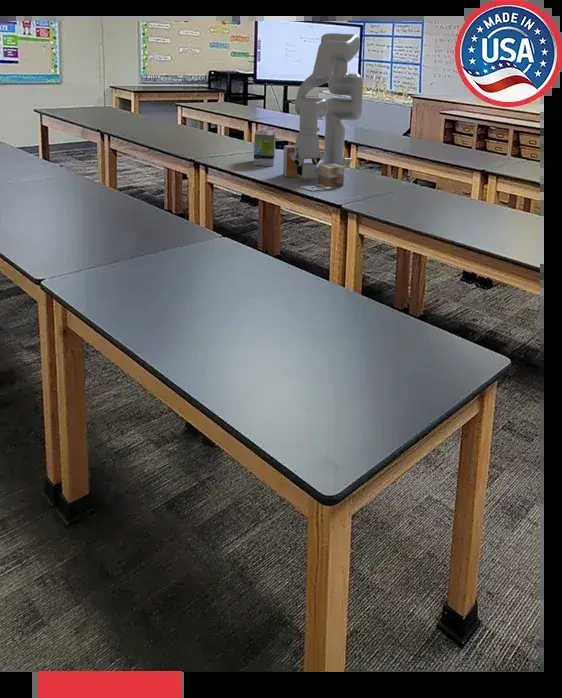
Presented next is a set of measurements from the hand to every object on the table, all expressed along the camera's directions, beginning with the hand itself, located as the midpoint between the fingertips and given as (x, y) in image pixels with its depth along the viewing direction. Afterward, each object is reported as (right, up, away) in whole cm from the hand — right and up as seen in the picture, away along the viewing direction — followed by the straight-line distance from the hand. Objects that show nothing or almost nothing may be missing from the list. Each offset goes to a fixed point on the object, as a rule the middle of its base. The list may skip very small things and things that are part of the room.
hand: (306, 173), depth 294 cm
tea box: (-19, +15, +37) cm, 45 cm away
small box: (-6, +2, +13) cm, 14 cm away
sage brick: (0, -1, 0) cm, 1 cm away
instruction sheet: (+4, -8, -9) cm, 13 cm away
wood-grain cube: (+10, -5, -2) cm, 12 cm away
